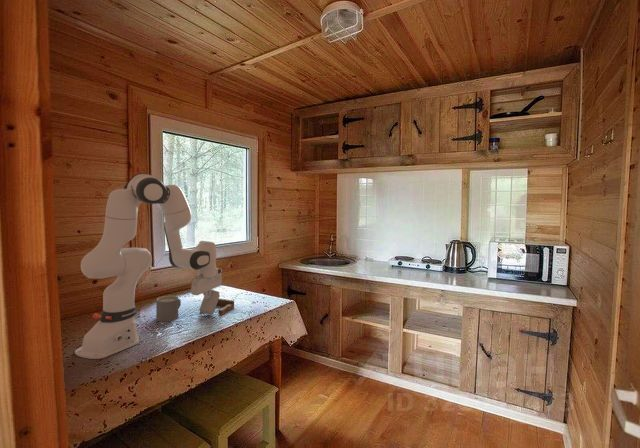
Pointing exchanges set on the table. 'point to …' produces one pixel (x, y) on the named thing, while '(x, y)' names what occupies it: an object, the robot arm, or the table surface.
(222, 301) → the cradle
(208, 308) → the can
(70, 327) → the table surface
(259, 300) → the table surface
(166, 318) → the coffee mug
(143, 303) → the table surface
